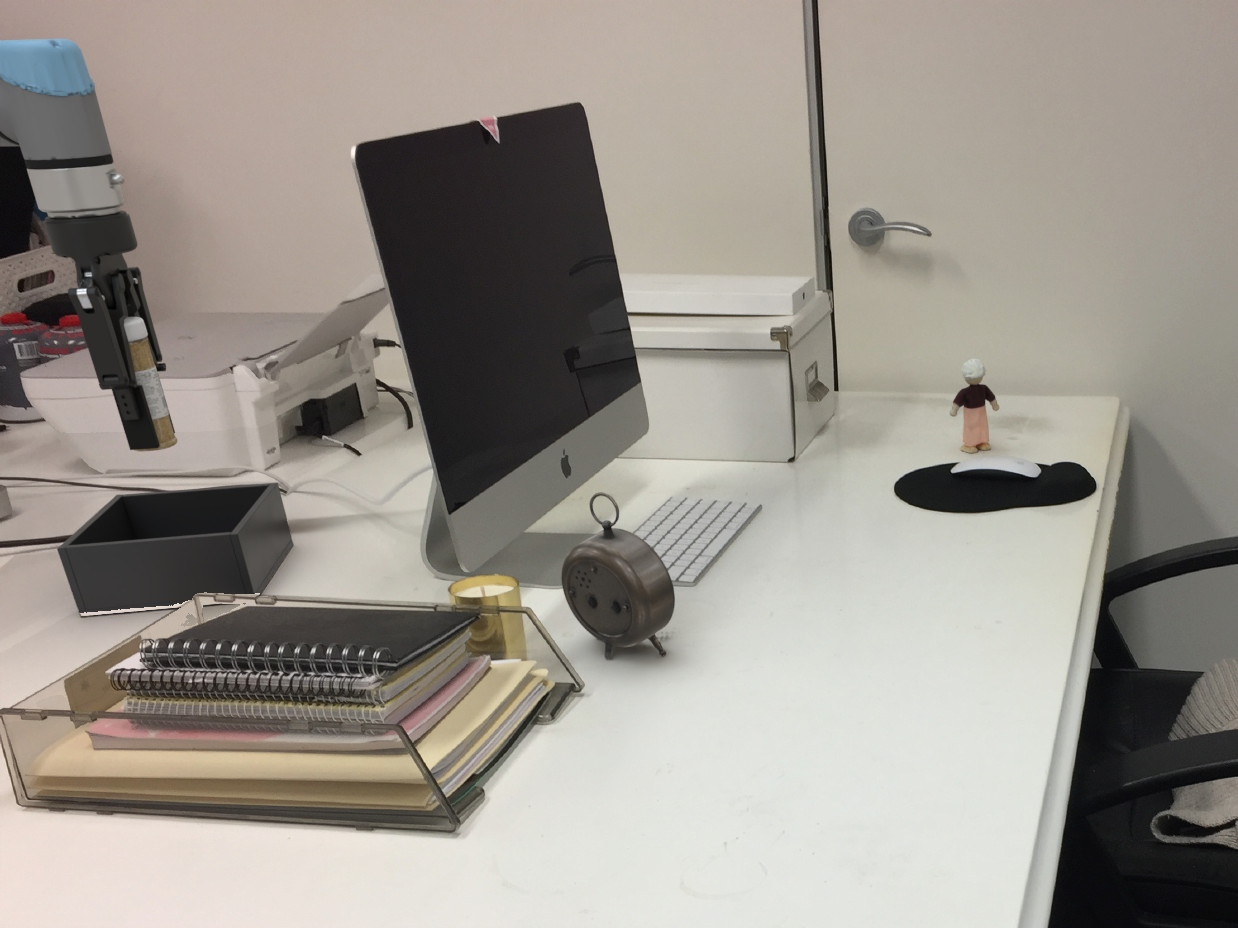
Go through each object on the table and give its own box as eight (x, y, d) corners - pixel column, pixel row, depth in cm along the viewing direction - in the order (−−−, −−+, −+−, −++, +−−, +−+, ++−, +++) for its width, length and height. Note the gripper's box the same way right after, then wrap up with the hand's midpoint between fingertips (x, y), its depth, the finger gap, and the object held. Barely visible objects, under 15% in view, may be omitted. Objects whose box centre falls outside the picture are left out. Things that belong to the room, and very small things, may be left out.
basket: (80, 617, 139) (56, 548, 135) (136, 558, 154) (116, 494, 150) (256, 601, 141) (237, 533, 138) (293, 544, 157) (277, 482, 153)
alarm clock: (684, 652, 127) (666, 492, 120) (647, 674, 123) (626, 510, 116) (600, 630, 132) (577, 475, 125) (562, 650, 128) (536, 492, 121)
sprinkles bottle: (138, 443, 142) (100, 316, 136) (183, 439, 143) (147, 313, 137) (126, 454, 138) (86, 325, 132) (173, 450, 139) (136, 322, 133)
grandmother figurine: (984, 441, 188) (984, 352, 182) (1002, 446, 185) (1003, 356, 179) (943, 452, 183) (942, 361, 178) (961, 458, 181) (961, 366, 175)
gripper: (93, 221, 123) (164, 462, 133) (154, 199, 138) (213, 417, 149) (6, 225, 122) (85, 468, 132) (77, 203, 137) (142, 422, 147)
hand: (153, 440), depth 140 cm, fingers closed on sprinkles bottle, 4 cm apart
